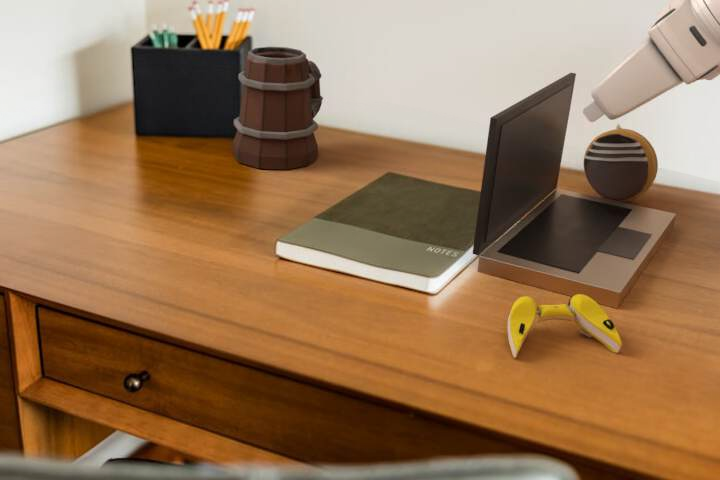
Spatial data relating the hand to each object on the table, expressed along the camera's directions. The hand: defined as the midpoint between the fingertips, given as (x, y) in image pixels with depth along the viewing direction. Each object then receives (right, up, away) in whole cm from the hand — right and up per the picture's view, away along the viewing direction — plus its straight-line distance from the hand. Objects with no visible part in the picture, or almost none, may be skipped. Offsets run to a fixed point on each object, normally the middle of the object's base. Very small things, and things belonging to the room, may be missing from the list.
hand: (589, 114), depth 98 cm
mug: (-36, -1, +32) cm, 48 cm away
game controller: (-7, -23, -15) cm, 29 cm away
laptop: (0, -15, +5) cm, 15 cm away
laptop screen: (-5, -4, +5) cm, 8 cm away
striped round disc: (+9, -8, +21) cm, 24 cm away
